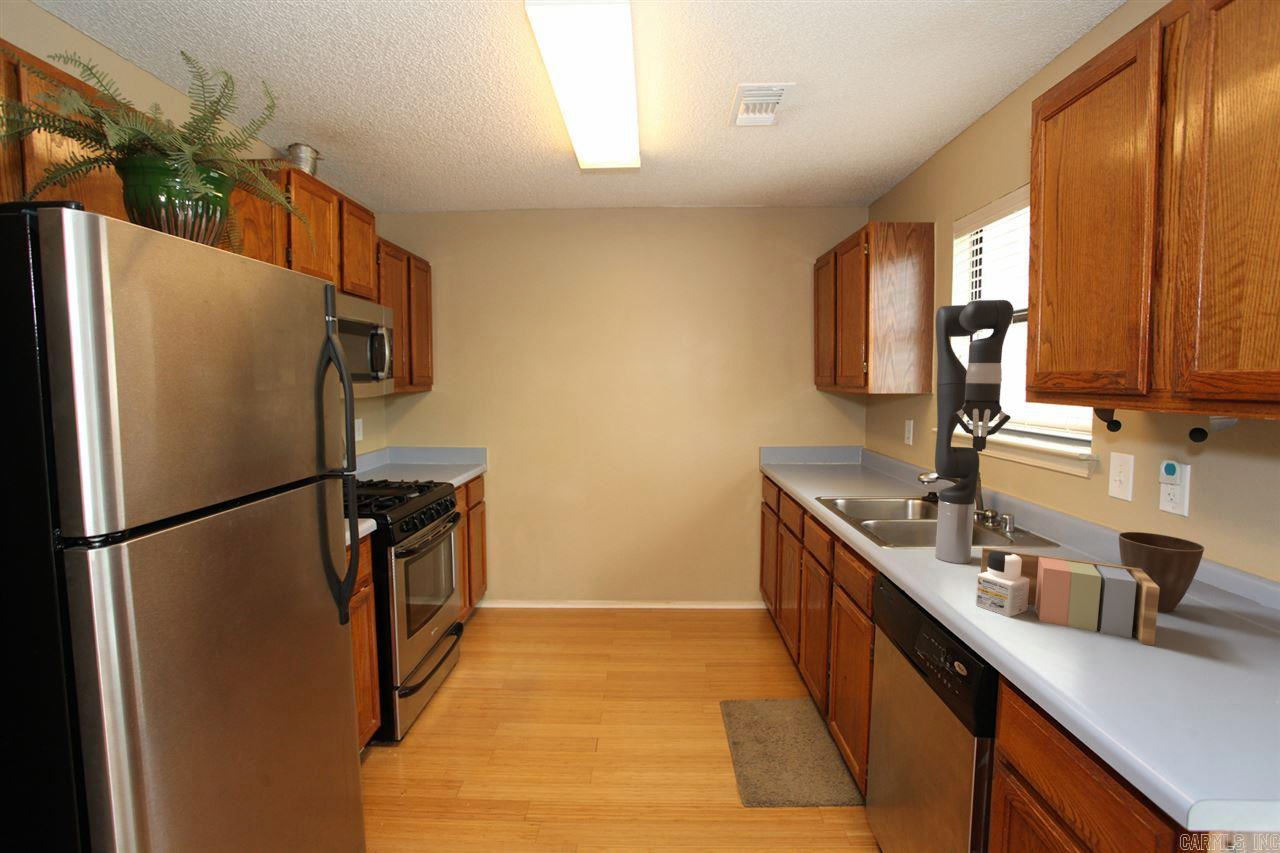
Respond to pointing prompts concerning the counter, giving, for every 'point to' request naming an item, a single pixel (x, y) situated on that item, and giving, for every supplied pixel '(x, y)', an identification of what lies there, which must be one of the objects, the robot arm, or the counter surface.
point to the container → (1003, 585)
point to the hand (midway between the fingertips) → (978, 451)
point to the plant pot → (1162, 563)
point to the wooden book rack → (1144, 587)
